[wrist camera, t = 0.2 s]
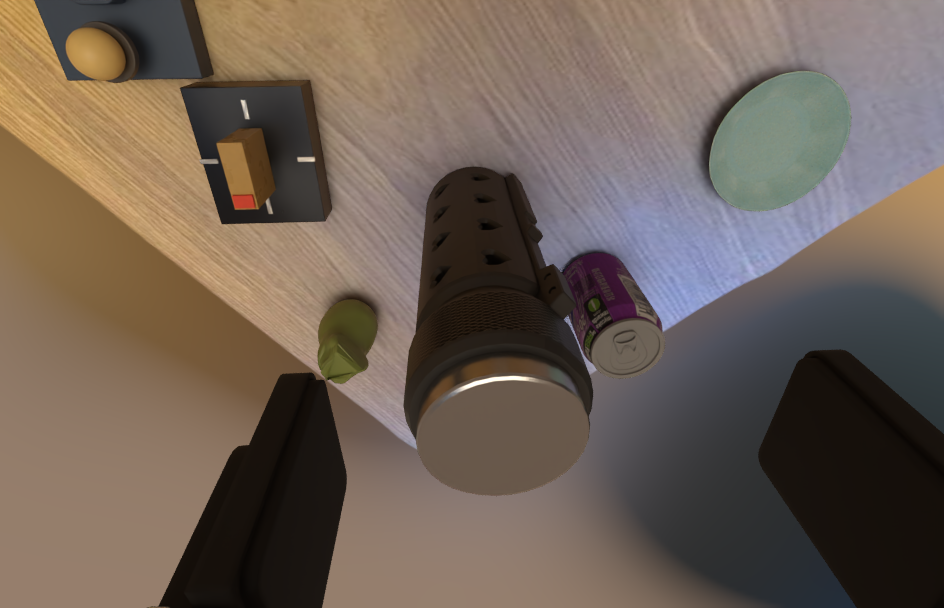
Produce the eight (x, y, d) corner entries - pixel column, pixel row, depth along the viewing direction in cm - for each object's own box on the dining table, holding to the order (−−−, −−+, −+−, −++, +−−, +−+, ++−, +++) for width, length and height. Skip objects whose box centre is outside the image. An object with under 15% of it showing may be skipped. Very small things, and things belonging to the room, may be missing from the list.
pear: (317, 307, 51) (291, 369, 42) (353, 280, 49) (334, 339, 41) (355, 340, 53) (338, 405, 45) (391, 315, 52) (380, 378, 43)
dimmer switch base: (195, 81, 39) (177, 88, 36) (311, 80, 39) (301, 86, 36) (232, 211, 45) (219, 225, 42) (333, 208, 45) (326, 222, 42)
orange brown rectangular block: (238, 128, 38) (214, 143, 34) (261, 127, 38) (240, 143, 34) (254, 190, 41) (233, 211, 37) (276, 189, 41) (257, 210, 37)
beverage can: (551, 261, 49) (578, 329, 39) (620, 240, 48) (667, 305, 38) (565, 316, 53) (593, 391, 43) (629, 298, 52) (674, 370, 42)
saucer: (673, 143, 43) (683, 150, 41) (795, 34, 39) (813, 36, 37) (739, 226, 48) (752, 235, 46) (855, 136, 44) (874, 142, 42)
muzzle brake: (483, 134, 42) (402, 211, 45) (533, 309, 18) (355, 443, 22) (550, 209, 46) (470, 275, 50) (661, 432, 22) (494, 529, 26)
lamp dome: (70, 21, 33) (36, 23, 30) (127, 20, 33) (99, 22, 30) (94, 82, 35) (64, 89, 32) (147, 81, 35) (123, 88, 32)
